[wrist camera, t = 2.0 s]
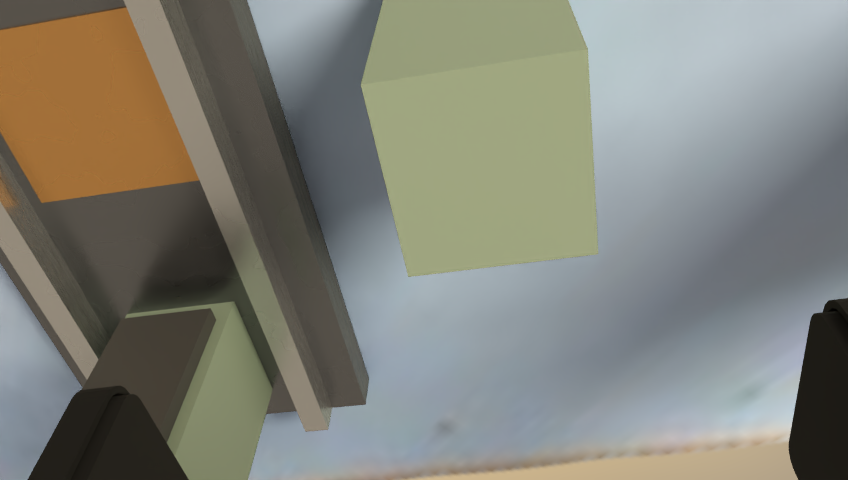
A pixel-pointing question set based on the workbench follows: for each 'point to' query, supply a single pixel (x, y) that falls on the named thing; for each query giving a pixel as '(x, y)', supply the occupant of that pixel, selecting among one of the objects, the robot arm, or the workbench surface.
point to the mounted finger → (193, 384)
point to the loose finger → (483, 131)
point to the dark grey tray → (164, 188)
